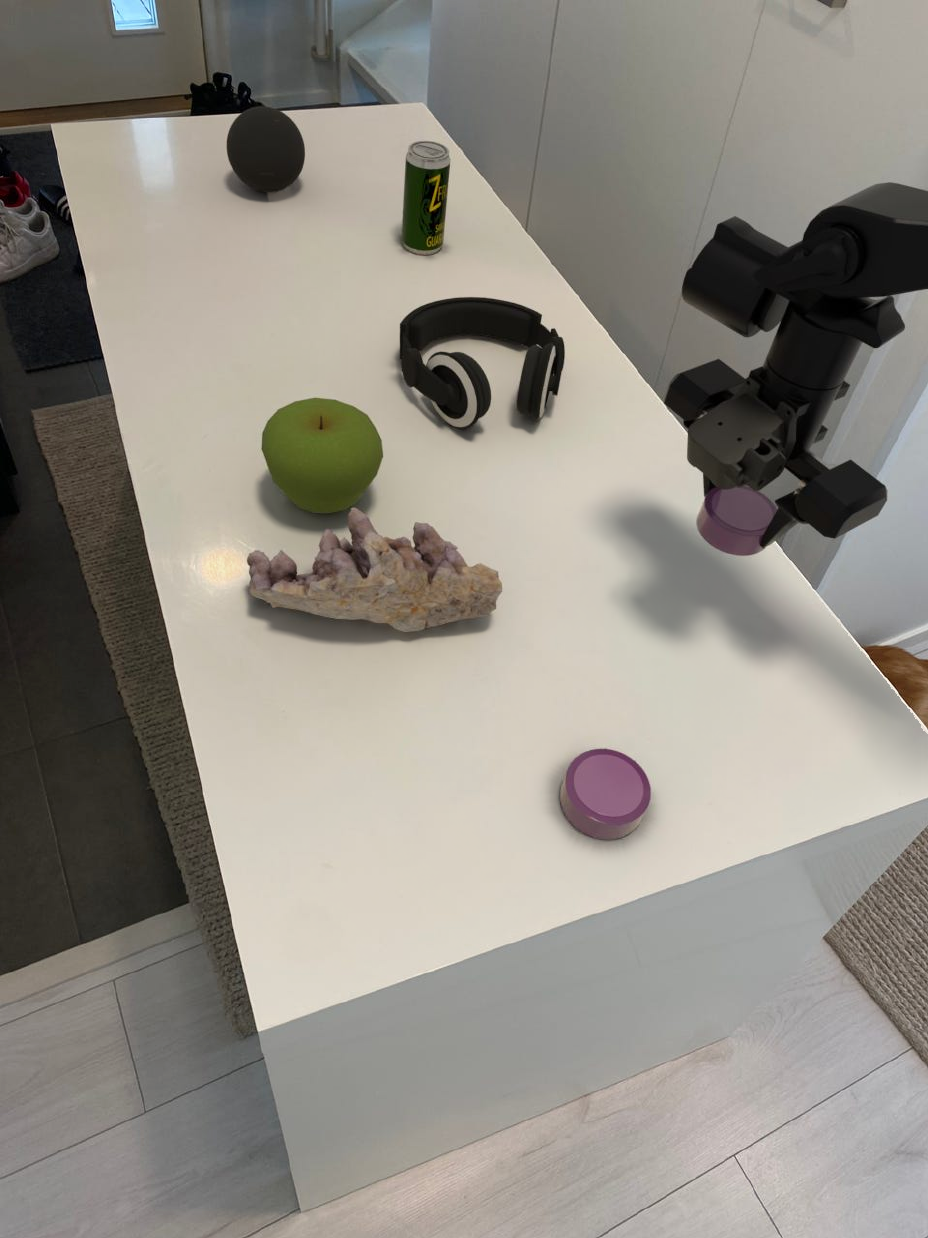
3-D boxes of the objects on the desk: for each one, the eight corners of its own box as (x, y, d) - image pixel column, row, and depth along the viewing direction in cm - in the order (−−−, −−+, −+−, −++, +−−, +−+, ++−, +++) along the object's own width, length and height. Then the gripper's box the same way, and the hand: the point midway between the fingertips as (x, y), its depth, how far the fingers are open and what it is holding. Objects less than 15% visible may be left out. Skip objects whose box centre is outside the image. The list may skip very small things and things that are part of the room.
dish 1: (660, 813, 71) (669, 797, 69) (596, 855, 68) (603, 840, 66) (606, 751, 74) (613, 734, 72) (542, 788, 71) (548, 772, 69)
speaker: (214, 187, 124) (206, 108, 117) (264, 163, 130) (259, 86, 122) (272, 214, 121) (267, 134, 114) (321, 188, 127) (320, 110, 119)
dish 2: (784, 539, 81) (795, 518, 79) (733, 566, 78) (742, 545, 76) (732, 494, 84) (741, 473, 82) (680, 518, 81) (688, 497, 79)
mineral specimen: (252, 631, 71) (258, 499, 70) (241, 616, 80) (247, 500, 79) (504, 640, 77) (513, 519, 76) (466, 625, 87) (474, 517, 86)
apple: (402, 502, 90) (408, 419, 82) (319, 555, 84) (317, 471, 76) (326, 445, 94) (325, 361, 86) (242, 492, 88) (233, 406, 81)
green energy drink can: (393, 246, 119) (397, 150, 110) (415, 229, 122) (421, 135, 113) (429, 260, 118) (436, 164, 109) (450, 243, 121) (459, 149, 112)
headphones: (432, 378, 89) (380, 286, 102) (428, 448, 94) (379, 352, 107) (603, 362, 93) (531, 276, 107) (589, 430, 99) (523, 340, 112)
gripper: (639, 327, 69) (595, 485, 81) (830, 478, 60) (749, 631, 72) (743, 292, 74) (687, 446, 86) (935, 426, 65) (842, 578, 77)
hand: (736, 520), depth 80 cm, fingers closed on dish 2, 6 cm apart
